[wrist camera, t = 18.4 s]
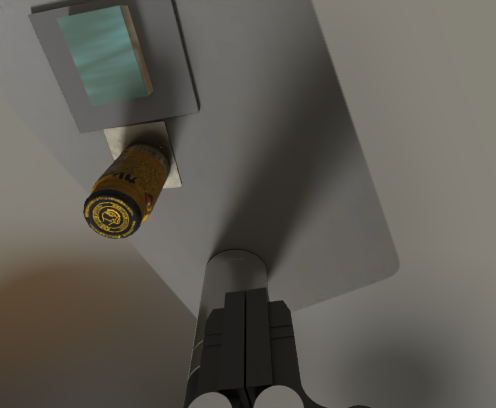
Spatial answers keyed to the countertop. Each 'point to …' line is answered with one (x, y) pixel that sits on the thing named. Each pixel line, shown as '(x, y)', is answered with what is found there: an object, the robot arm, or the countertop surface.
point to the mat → (155, 56)
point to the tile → (107, 54)
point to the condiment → (131, 179)
